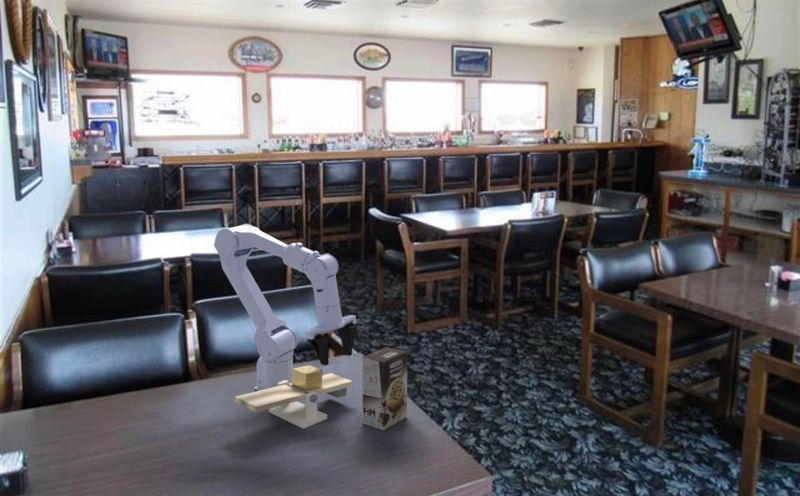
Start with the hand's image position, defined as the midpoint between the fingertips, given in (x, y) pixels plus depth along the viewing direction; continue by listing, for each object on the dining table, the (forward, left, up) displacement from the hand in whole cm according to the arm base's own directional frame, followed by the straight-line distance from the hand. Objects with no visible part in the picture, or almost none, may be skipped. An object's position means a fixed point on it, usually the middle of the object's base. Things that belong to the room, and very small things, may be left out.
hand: (336, 359), depth 159 cm
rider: (-1, -9, -4) cm, 10 cm away
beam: (-1, -12, -8) cm, 14 cm away
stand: (-1, -12, -11) cm, 16 cm away
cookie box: (+16, 0, -11) cm, 20 cm away
